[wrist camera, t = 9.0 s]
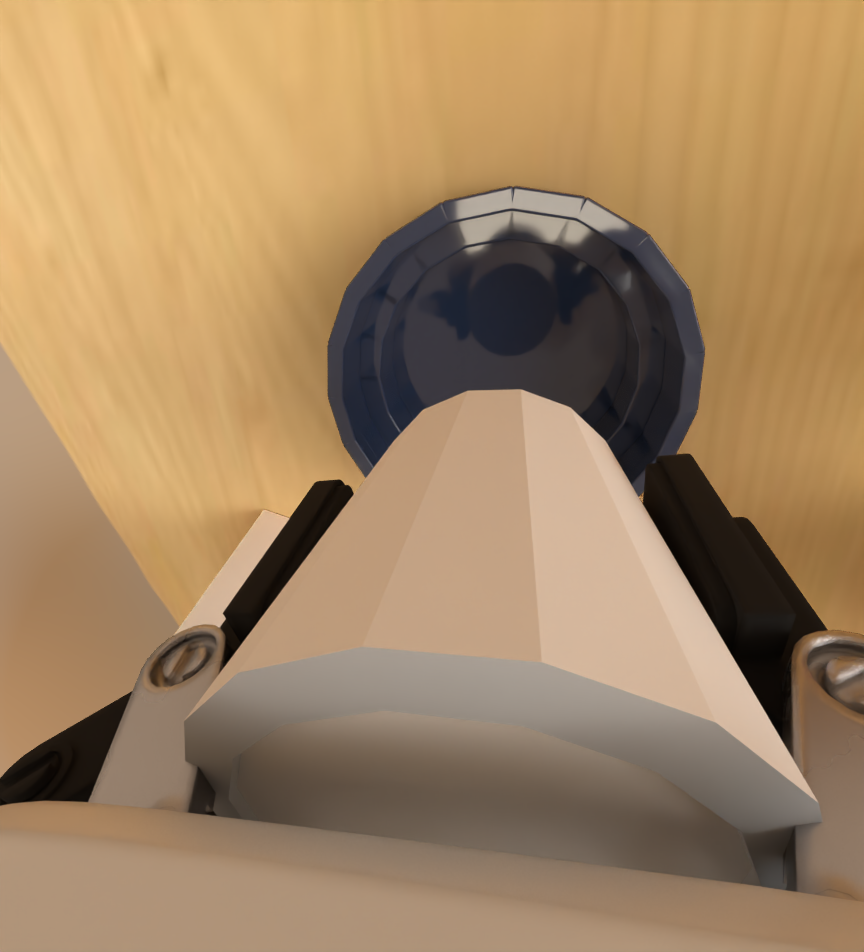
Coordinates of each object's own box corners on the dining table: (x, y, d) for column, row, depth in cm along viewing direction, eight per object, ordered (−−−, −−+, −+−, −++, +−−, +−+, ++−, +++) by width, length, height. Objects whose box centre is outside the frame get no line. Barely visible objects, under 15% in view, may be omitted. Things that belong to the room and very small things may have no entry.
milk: (252, 623, 33) (-249, 1424, 12) (263, 509, 27) (-801, 1811, 5) (404, 674, 33) (190, 1556, 12) (451, 573, 27) (173, 2082, 5)
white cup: (655, 587, 11) (799, 1000, 6) (407, 606, 13) (320, 926, 8) (641, 320, 8) (949, 638, 2) (314, 397, 10) (35, 674, 4)
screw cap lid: (676, 151, 15) (733, 136, 11) (652, 473, 21) (682, 537, 17) (330, 228, 18) (275, 238, 14) (399, 490, 24) (375, 548, 20)
